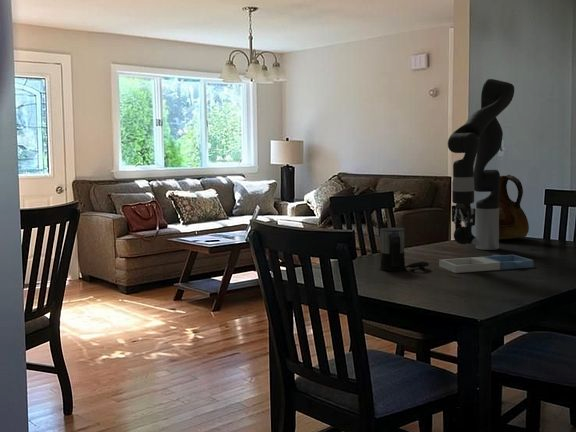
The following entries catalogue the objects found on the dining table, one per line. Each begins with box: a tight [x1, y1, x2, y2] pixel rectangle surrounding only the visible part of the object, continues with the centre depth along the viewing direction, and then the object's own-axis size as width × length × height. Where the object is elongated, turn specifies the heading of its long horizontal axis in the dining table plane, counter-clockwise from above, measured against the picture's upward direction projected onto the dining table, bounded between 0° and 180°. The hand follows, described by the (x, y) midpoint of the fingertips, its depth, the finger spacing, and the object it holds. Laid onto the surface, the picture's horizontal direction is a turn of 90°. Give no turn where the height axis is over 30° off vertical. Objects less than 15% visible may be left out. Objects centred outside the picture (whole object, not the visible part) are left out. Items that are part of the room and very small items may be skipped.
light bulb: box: [453, 225, 480, 246], centre depth 233 cm, size 6×6×10 cm
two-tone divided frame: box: [438, 254, 534, 274], centre depth 236 cm, size 17×30×3 cm, turn 102°
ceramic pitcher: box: [499, 174, 530, 241], centre depth 298 cm, size 20×20×30 cm
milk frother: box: [379, 227, 430, 272], centre depth 235 cm, size 14×16×15 cm
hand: (463, 235), depth 234 cm, fingers closed on light bulb, 7 cm apart
